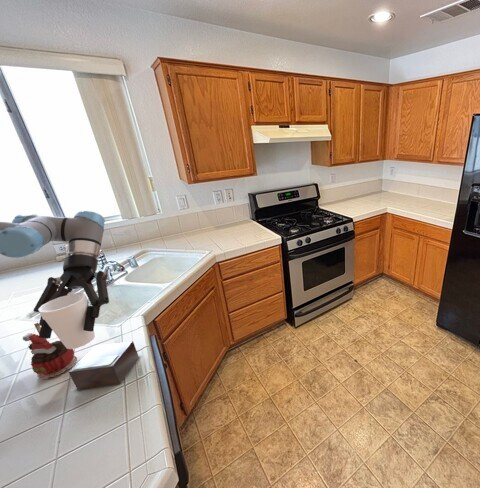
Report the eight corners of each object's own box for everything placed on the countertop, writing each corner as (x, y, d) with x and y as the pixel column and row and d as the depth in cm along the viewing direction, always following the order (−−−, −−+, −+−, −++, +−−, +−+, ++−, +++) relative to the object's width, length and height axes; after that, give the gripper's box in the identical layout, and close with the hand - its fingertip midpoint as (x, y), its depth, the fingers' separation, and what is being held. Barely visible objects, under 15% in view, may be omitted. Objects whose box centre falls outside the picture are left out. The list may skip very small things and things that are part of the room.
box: (77, 390, 78) (68, 371, 76) (101, 362, 89) (93, 345, 86) (120, 383, 80) (112, 365, 77) (139, 357, 90) (132, 340, 88)
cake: (86, 357, 92) (66, 313, 85) (61, 379, 83) (37, 332, 77) (56, 358, 92) (35, 315, 86) (28, 380, 83) (1, 334, 77)
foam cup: (66, 337, 77) (48, 299, 73) (105, 326, 81) (90, 290, 76) (52, 358, 69) (30, 316, 65) (96, 345, 73) (78, 305, 68)
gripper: (129, 258, 85) (120, 328, 76) (49, 268, 81) (30, 343, 72) (115, 248, 78) (104, 324, 69) (28, 258, 74) (3, 340, 65)
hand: (66, 334), depth 70 cm, fingers closed on foam cup, 9 cm apart
